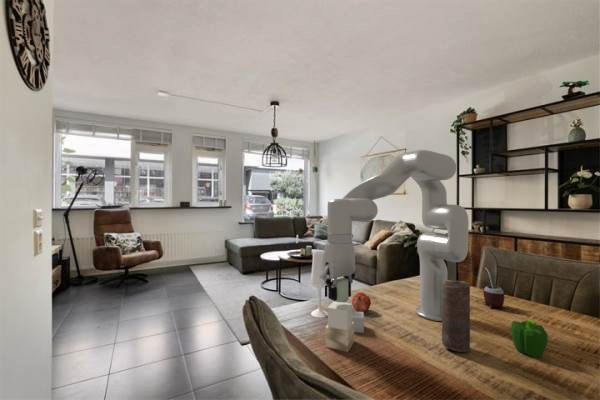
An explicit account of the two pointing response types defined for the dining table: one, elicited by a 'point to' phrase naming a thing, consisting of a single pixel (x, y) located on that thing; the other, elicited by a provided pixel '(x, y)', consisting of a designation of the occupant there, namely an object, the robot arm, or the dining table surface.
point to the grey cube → (358, 321)
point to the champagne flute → (318, 281)
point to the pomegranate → (361, 302)
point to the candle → (456, 315)
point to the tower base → (339, 338)
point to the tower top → (340, 315)
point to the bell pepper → (529, 337)
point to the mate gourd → (493, 295)
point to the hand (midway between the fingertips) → (339, 296)
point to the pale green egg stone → (341, 289)
